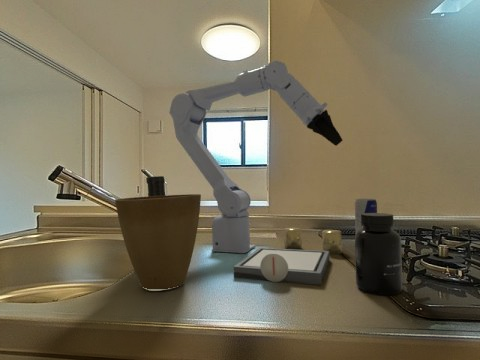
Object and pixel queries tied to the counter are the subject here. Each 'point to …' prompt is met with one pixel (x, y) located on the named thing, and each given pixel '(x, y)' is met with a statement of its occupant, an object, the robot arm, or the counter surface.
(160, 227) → the plant pot
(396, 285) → the supplement bottle
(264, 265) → the scale
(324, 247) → the cylinder
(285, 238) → the cylinder
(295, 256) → the pan
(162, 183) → the sauce bottle
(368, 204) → the energy drink
